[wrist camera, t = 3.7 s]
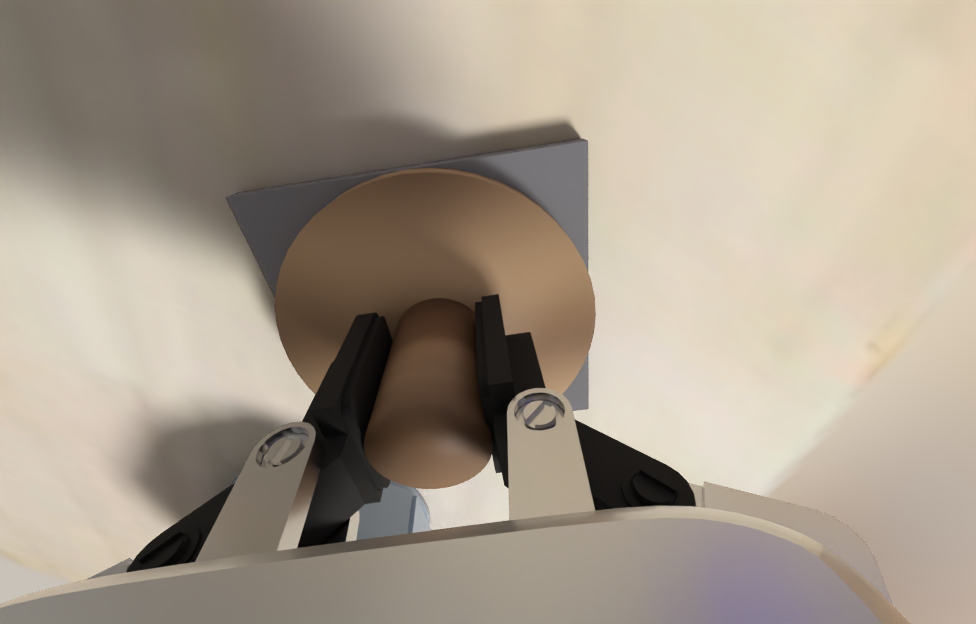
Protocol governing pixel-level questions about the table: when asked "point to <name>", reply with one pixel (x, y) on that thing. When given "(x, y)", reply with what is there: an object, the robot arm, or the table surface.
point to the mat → (531, 170)
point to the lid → (433, 306)
